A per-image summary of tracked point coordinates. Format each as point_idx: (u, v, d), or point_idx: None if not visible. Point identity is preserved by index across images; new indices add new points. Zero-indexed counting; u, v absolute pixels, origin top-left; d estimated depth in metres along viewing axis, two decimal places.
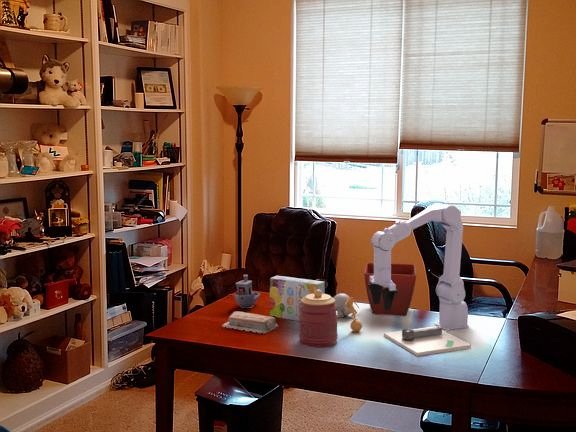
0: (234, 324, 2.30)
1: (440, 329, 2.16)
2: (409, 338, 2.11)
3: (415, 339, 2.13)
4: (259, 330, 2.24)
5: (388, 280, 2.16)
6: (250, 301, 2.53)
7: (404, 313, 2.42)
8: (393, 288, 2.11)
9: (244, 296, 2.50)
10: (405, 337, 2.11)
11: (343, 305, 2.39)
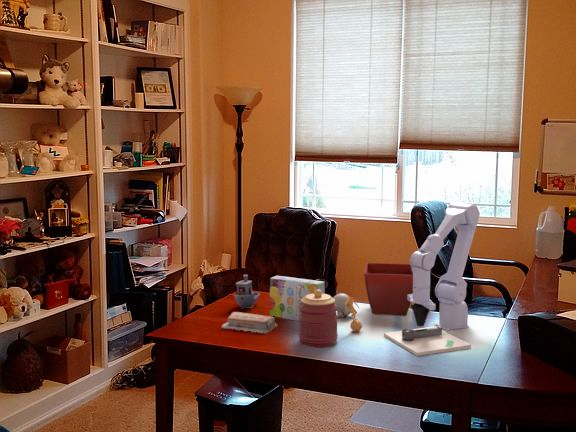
0: (233, 325, 2.29)
1: (440, 329, 2.16)
2: (409, 338, 2.11)
3: (415, 339, 2.13)
4: (260, 330, 2.24)
5: (427, 299, 2.17)
6: (250, 301, 2.53)
7: (404, 313, 2.42)
8: (433, 308, 2.13)
9: (244, 296, 2.50)
10: (405, 337, 2.11)
11: (343, 305, 2.39)
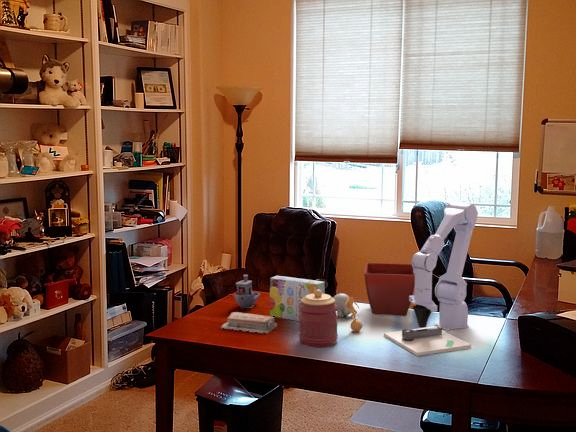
0: (233, 325, 2.29)
1: (440, 329, 2.16)
2: (409, 338, 2.11)
3: (415, 339, 2.13)
4: (260, 330, 2.24)
5: (429, 301, 2.16)
6: (250, 301, 2.53)
7: (404, 313, 2.42)
8: (435, 309, 2.12)
9: (244, 296, 2.50)
10: (405, 337, 2.11)
11: (343, 305, 2.39)
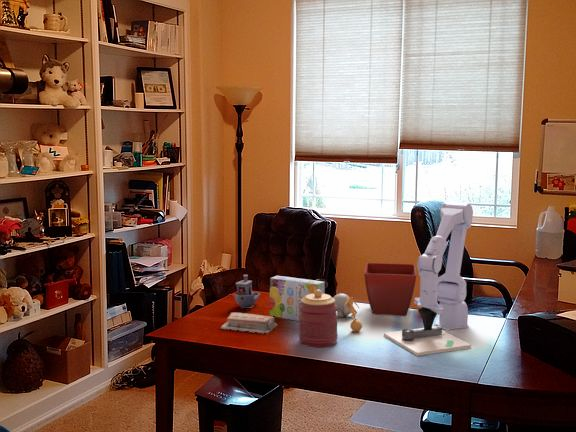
0: (233, 325, 2.29)
1: (440, 329, 2.16)
2: (409, 338, 2.11)
3: (415, 339, 2.13)
4: (260, 330, 2.24)
5: (435, 303, 2.13)
6: (250, 301, 2.53)
7: (404, 313, 2.42)
8: (441, 312, 2.09)
9: (244, 296, 2.50)
10: (405, 337, 2.11)
11: (343, 305, 2.39)
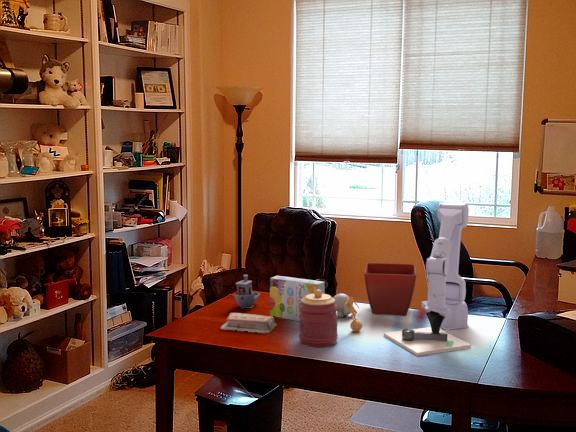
0: (233, 325, 2.28)
1: (445, 335, 2.09)
2: (406, 338, 2.11)
3: None
4: (261, 330, 2.24)
5: (443, 307, 2.09)
6: (250, 301, 2.53)
7: (404, 313, 2.42)
8: (449, 316, 2.05)
9: (244, 296, 2.50)
10: (402, 336, 2.12)
11: (343, 305, 2.39)
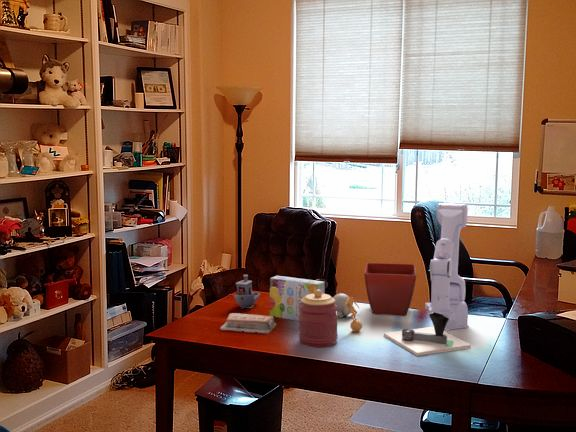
0: (233, 326, 2.28)
1: (444, 337, 2.07)
2: (405, 338, 2.11)
3: None
4: (261, 330, 2.24)
5: (447, 308, 2.07)
6: (250, 301, 2.53)
7: (404, 313, 2.42)
8: (453, 317, 2.03)
9: (244, 296, 2.50)
10: (402, 335, 2.12)
11: (343, 305, 2.39)
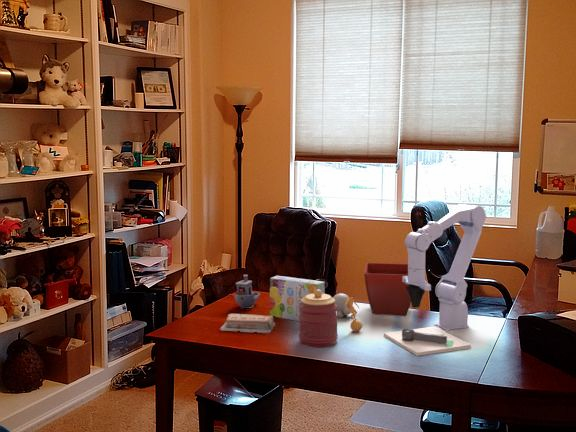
0: (233, 326, 2.27)
1: (444, 337, 2.07)
2: (404, 338, 2.11)
3: None
4: (262, 330, 2.25)
5: (422, 280, 2.18)
6: (250, 301, 2.53)
7: (404, 313, 2.42)
8: (428, 288, 2.13)
9: (244, 296, 2.50)
10: (402, 335, 2.12)
11: (342, 305, 2.39)
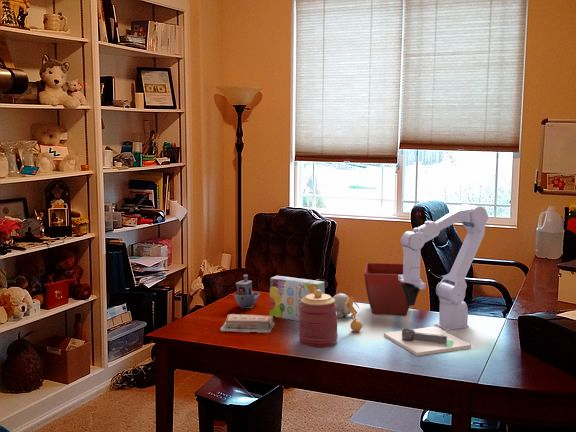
0: (233, 327, 2.27)
1: (444, 337, 2.07)
2: (404, 338, 2.11)
3: None
4: (263, 330, 2.25)
5: (417, 279, 2.20)
6: (250, 301, 2.53)
7: (404, 313, 2.42)
8: (423, 287, 2.16)
9: (244, 296, 2.50)
10: (402, 335, 2.12)
11: (342, 305, 2.39)
